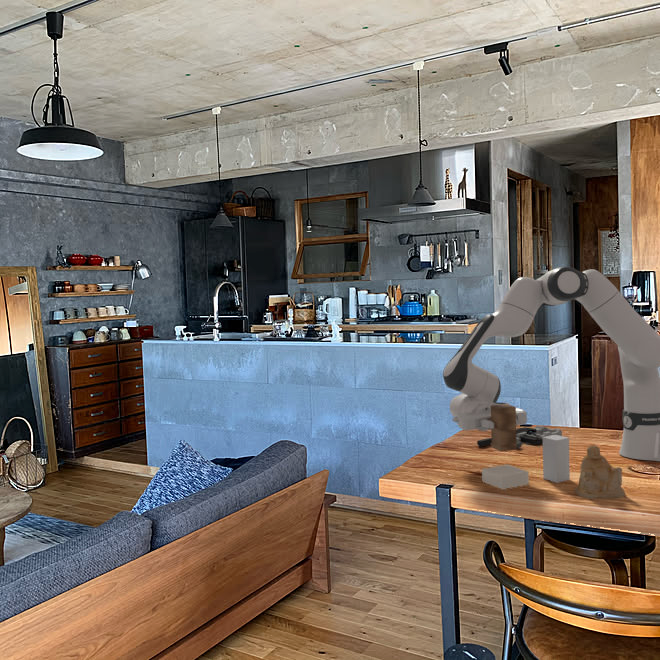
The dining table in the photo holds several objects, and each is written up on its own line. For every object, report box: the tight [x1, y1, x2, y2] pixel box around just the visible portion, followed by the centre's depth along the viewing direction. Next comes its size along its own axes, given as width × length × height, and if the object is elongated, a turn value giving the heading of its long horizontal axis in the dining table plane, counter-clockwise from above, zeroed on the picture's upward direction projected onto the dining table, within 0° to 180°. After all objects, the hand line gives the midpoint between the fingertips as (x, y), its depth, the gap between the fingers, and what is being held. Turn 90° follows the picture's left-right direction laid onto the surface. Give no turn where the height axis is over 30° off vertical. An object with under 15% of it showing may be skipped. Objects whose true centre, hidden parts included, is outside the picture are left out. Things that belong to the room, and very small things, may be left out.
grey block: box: [542, 435, 571, 484], centre depth 189 cm, size 5×5×12 cm
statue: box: [574, 444, 626, 500], centre depth 176 cm, size 12×14×10 cm
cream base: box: [481, 464, 530, 490], centre depth 187 cm, size 9×9×4 cm
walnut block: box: [490, 404, 518, 452], centre depth 186 cm, size 5×5×12 cm
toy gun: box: [476, 425, 563, 449], centre depth 234 cm, size 4×33×15 cm
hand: (505, 424), depth 186 cm, fingers closed on walnut block, 5 cm apart
